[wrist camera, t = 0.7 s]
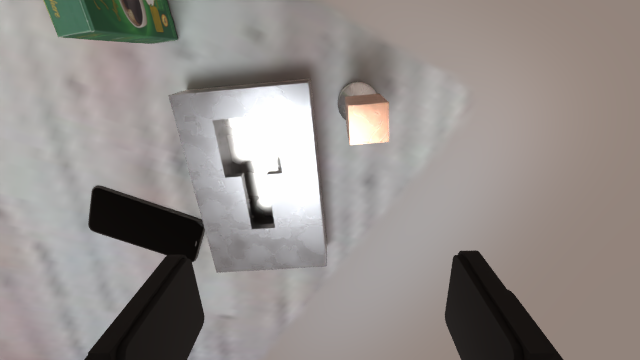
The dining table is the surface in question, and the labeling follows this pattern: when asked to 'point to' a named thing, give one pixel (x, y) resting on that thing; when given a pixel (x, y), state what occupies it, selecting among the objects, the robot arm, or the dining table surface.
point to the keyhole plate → (255, 173)
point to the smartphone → (144, 223)
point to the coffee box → (113, 20)
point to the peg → (364, 114)
